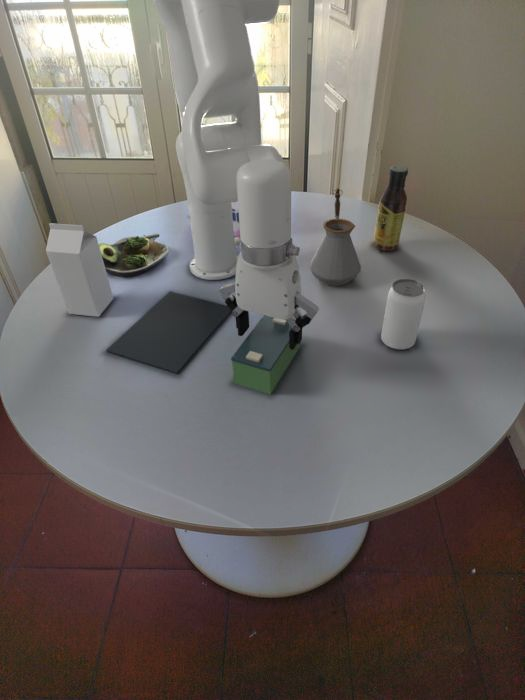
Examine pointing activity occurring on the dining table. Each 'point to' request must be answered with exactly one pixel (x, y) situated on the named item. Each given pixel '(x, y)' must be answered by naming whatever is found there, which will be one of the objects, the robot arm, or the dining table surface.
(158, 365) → the placemat
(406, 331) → the can
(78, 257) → the milk carton
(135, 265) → the salad plate
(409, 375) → the dining table surface
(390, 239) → the sauce bottle
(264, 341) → the box
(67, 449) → the dining table surface
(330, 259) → the coffee pot
